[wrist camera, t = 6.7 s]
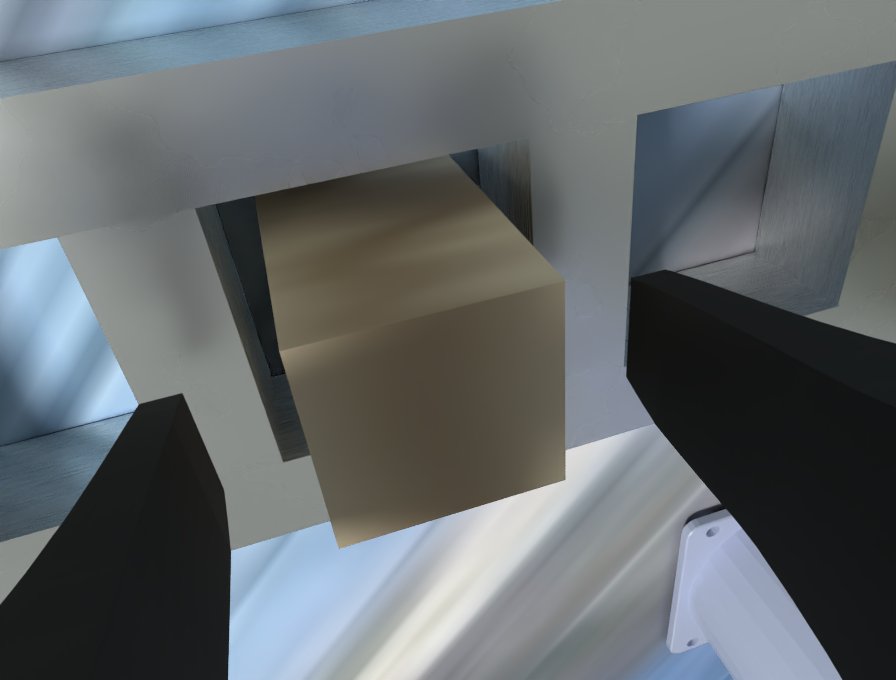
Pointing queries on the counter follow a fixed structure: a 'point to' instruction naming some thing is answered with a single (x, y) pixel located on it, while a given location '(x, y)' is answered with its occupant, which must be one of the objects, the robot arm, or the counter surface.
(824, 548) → the robot arm
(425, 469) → the peg
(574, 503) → the counter surface
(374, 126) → the rail
